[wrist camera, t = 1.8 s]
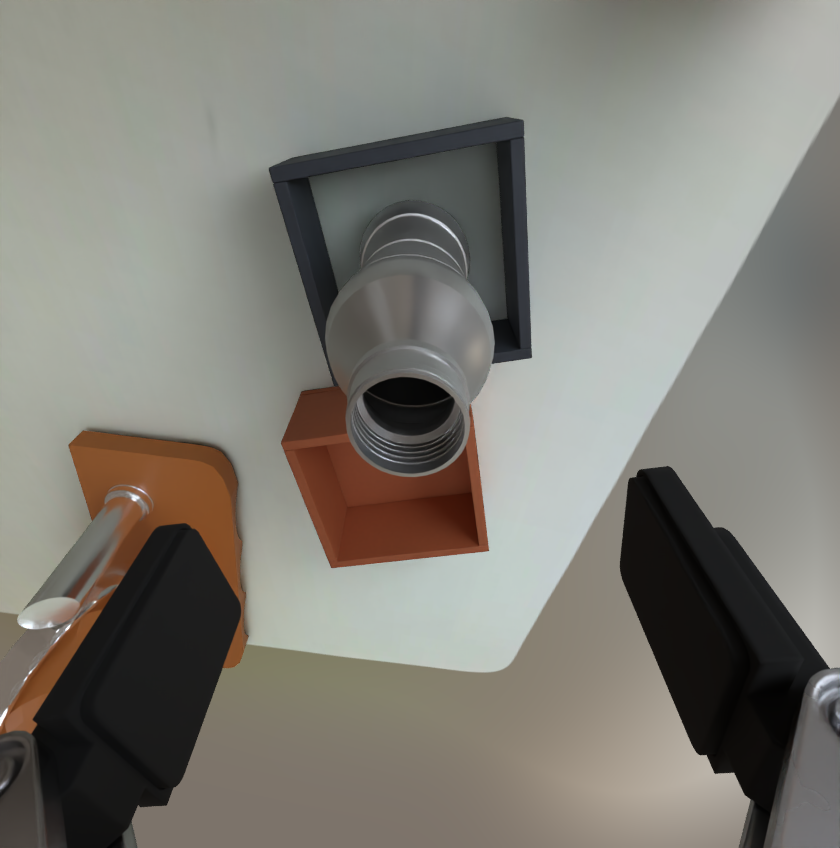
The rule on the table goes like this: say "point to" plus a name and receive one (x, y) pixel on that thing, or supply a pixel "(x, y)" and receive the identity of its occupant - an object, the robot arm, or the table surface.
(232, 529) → the desk clock
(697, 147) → the table surface
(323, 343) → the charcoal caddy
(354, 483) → the terracotta bin
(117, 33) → the table surface
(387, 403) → the metal bottle
